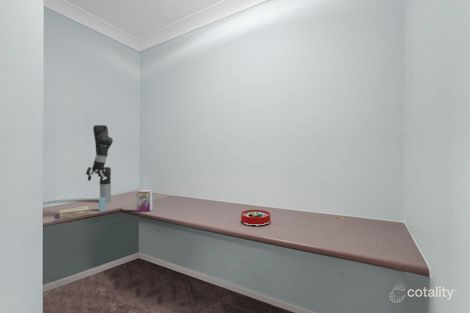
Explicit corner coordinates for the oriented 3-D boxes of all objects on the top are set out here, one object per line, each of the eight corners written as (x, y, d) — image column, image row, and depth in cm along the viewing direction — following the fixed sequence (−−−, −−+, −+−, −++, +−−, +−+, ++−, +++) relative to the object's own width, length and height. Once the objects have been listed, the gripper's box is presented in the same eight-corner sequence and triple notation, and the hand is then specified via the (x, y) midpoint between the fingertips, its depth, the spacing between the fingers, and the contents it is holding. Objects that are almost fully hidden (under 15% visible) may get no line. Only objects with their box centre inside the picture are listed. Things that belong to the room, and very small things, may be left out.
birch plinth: (60, 214, 178) (60, 209, 178) (87, 210, 188) (87, 205, 188) (59, 218, 167) (59, 213, 166) (88, 214, 177) (88, 209, 177)
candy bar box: (136, 211, 187) (136, 191, 186) (139, 209, 192) (139, 190, 191) (149, 211, 185) (149, 191, 185) (152, 210, 190) (152, 190, 190)
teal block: (99, 209, 191) (98, 197, 191) (105, 209, 194) (104, 197, 194) (99, 210, 188) (99, 198, 188) (105, 210, 190) (105, 198, 190)
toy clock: (244, 209, 171) (271, 210, 166) (244, 216, 171) (271, 218, 166) (237, 216, 152) (268, 218, 146) (238, 225, 152) (268, 227, 147)
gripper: (107, 161, 189) (102, 180, 189) (88, 158, 178) (83, 179, 178) (111, 163, 185) (106, 182, 185) (92, 160, 174) (87, 181, 173)
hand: (95, 181), depth 181 cm, fingers open, 8 cm apart
